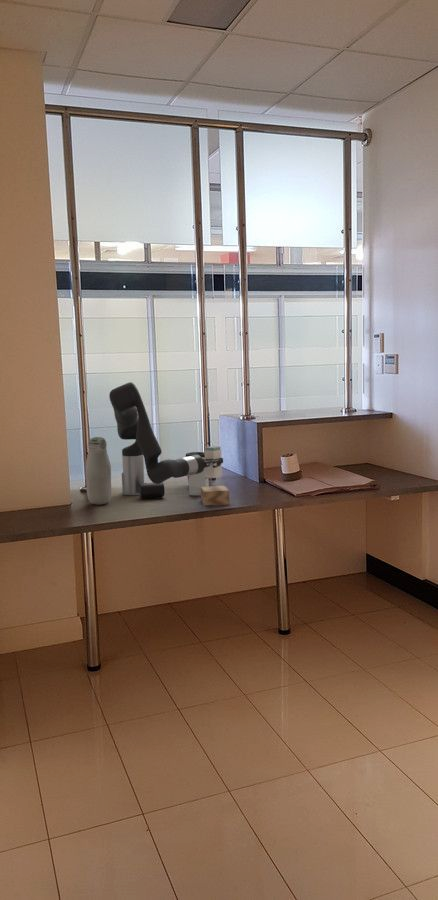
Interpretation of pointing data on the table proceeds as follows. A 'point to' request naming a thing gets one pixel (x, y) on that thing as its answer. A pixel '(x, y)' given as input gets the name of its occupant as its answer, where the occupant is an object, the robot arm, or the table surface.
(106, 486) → the glass bottle
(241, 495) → the table surface
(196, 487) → the supplement box
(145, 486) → the end cap
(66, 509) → the table surface
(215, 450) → the cream carton
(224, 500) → the oak box
